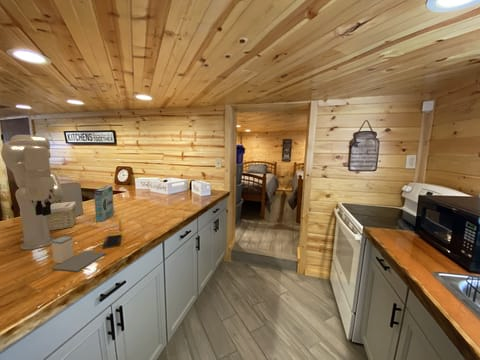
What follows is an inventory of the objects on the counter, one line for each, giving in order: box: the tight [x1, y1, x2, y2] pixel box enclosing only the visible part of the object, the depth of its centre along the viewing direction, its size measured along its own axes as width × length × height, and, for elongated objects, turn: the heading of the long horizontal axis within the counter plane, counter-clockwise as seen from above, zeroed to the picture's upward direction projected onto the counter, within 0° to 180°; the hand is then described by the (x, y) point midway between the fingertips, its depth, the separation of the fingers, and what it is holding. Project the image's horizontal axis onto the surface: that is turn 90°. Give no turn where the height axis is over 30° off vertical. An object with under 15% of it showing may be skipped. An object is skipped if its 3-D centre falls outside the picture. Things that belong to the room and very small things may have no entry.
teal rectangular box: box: [93, 185, 115, 223], centre depth 147 cm, size 20×5×23 cm, turn 13°
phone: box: [102, 234, 123, 250], centre depth 109 cm, size 8×1×15 cm
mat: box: [51, 250, 107, 273], centre depth 89 cm, size 12×15×1 cm
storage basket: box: [19, 202, 77, 231], centre depth 127 cm, size 24×16×15 cm
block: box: [51, 236, 75, 264], centre depth 89 cm, size 5×5×10 cm
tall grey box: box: [60, 182, 84, 217], centre depth 151 cm, size 12×12×25 cm
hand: (43, 214), depth 88 cm, fingers open, 2 cm apart
